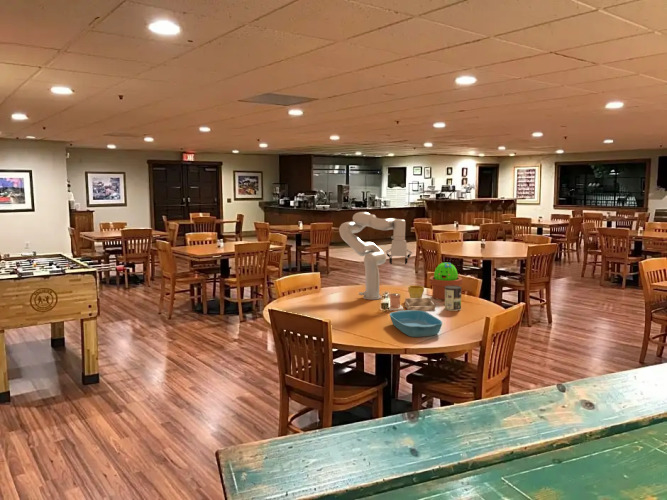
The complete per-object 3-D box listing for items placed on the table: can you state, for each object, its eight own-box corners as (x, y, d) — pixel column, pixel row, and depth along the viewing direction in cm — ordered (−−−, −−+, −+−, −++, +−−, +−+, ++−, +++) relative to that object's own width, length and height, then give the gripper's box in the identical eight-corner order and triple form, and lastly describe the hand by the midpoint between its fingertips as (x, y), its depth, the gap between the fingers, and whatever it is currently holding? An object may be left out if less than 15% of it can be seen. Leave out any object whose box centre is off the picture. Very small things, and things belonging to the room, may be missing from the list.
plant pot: (423, 299, 357) (423, 285, 356) (424, 303, 347) (424, 288, 345) (407, 299, 358) (407, 285, 357) (408, 302, 348) (408, 288, 346)
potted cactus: (432, 293, 376) (432, 258, 373) (463, 295, 368) (464, 259, 365) (426, 299, 356) (426, 263, 353) (459, 302, 348) (460, 264, 345)
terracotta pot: (390, 308, 330) (390, 295, 329) (389, 305, 336) (389, 293, 335) (401, 308, 330) (401, 295, 329) (399, 305, 337) (399, 293, 335)
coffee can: (460, 307, 334) (461, 285, 332) (461, 311, 324) (461, 288, 322) (444, 306, 336) (444, 285, 334) (444, 310, 326) (444, 288, 324)
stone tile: (389, 310, 329) (389, 308, 329) (387, 306, 338) (387, 305, 337) (403, 310, 329) (403, 308, 329) (401, 306, 338) (401, 305, 338)
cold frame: (408, 310, 327) (408, 302, 326) (405, 305, 340) (405, 298, 339) (434, 310, 328) (435, 302, 327) (430, 305, 340) (430, 297, 339)
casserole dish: (384, 322, 302) (384, 310, 301) (421, 319, 307) (421, 307, 306) (408, 341, 266) (408, 327, 265) (448, 338, 271) (449, 324, 270)
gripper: (386, 238, 340) (385, 264, 343) (413, 239, 340) (412, 265, 343) (385, 237, 348) (384, 262, 351) (411, 237, 347) (410, 263, 350)
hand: (398, 264), depth 347 cm, fingers open, 9 cm apart
